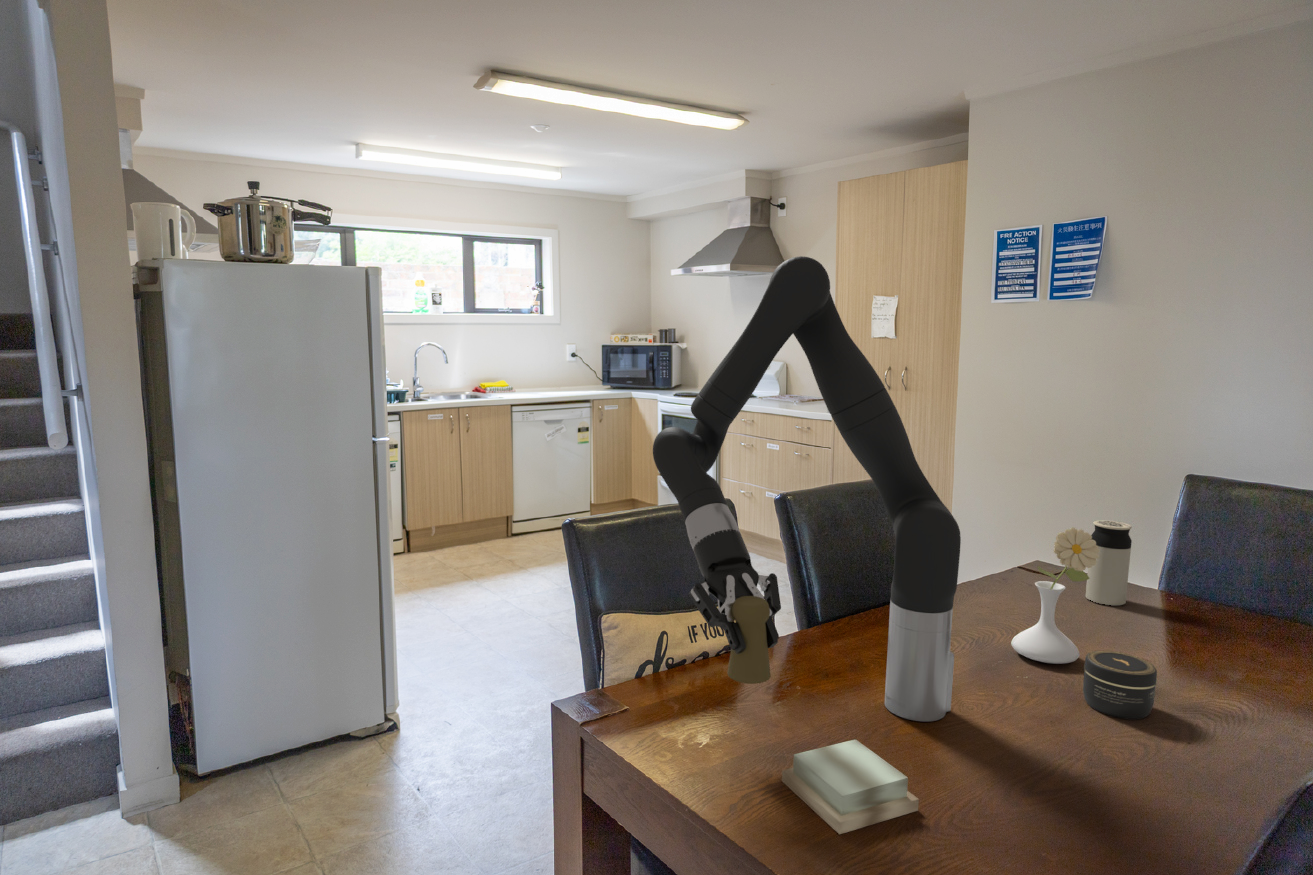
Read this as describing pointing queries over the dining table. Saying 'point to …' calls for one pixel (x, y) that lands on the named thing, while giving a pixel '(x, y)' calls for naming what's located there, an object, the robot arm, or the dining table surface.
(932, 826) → the dining table surface
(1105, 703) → the jar
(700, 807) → the dining table surface
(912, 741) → the dining table surface
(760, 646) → the cork
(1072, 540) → the flower in vase
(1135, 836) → the dining table surface
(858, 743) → the plinth
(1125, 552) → the travel mug
